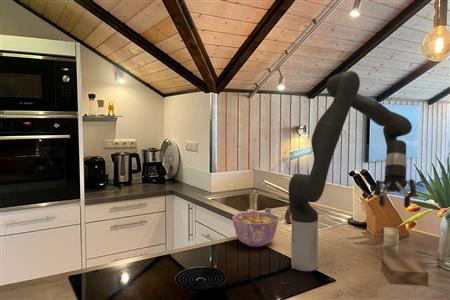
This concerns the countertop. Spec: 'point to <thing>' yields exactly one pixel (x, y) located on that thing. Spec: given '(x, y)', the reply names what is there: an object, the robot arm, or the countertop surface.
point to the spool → (391, 242)
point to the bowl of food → (255, 227)
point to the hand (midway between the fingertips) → (394, 207)
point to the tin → (288, 216)
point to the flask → (268, 210)
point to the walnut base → (404, 271)
